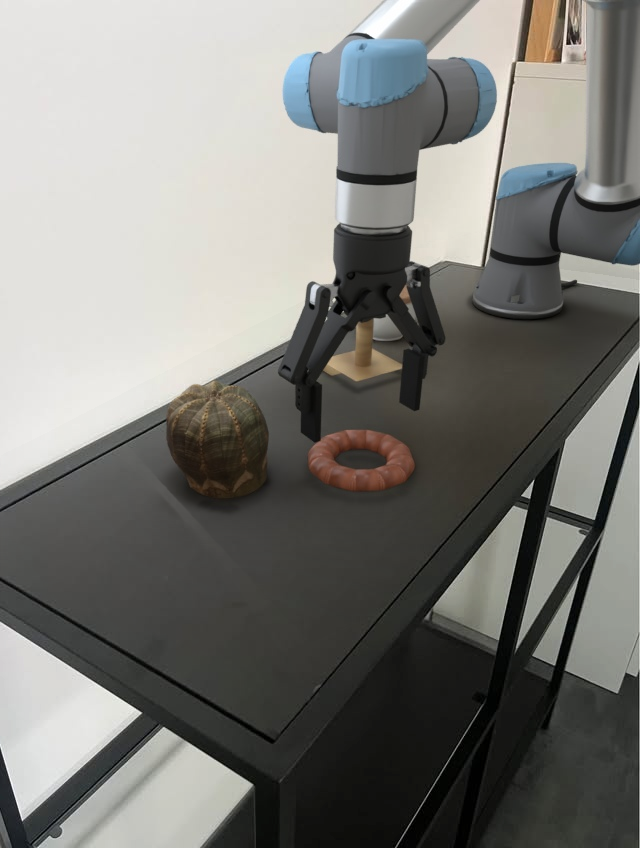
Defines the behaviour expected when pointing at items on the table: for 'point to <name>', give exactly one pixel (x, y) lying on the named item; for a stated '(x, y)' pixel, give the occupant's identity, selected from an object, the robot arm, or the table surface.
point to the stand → (362, 357)
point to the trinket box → (385, 326)
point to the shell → (218, 439)
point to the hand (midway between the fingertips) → (361, 421)
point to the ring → (361, 479)
